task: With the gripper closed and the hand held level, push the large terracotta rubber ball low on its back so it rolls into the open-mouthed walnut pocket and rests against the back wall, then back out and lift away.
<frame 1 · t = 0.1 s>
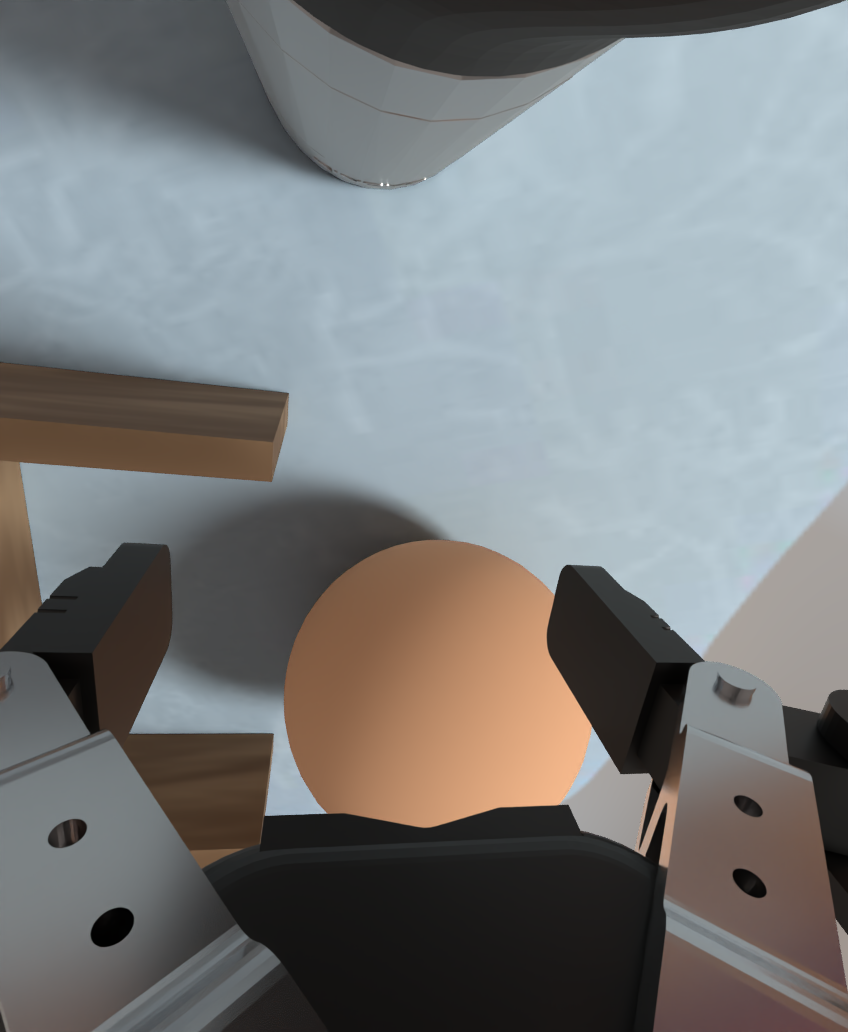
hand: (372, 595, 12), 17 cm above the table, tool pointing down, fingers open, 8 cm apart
pocket: (164, 594, 30), on the table
ball: (437, 689, 26), point 7 cm above the table
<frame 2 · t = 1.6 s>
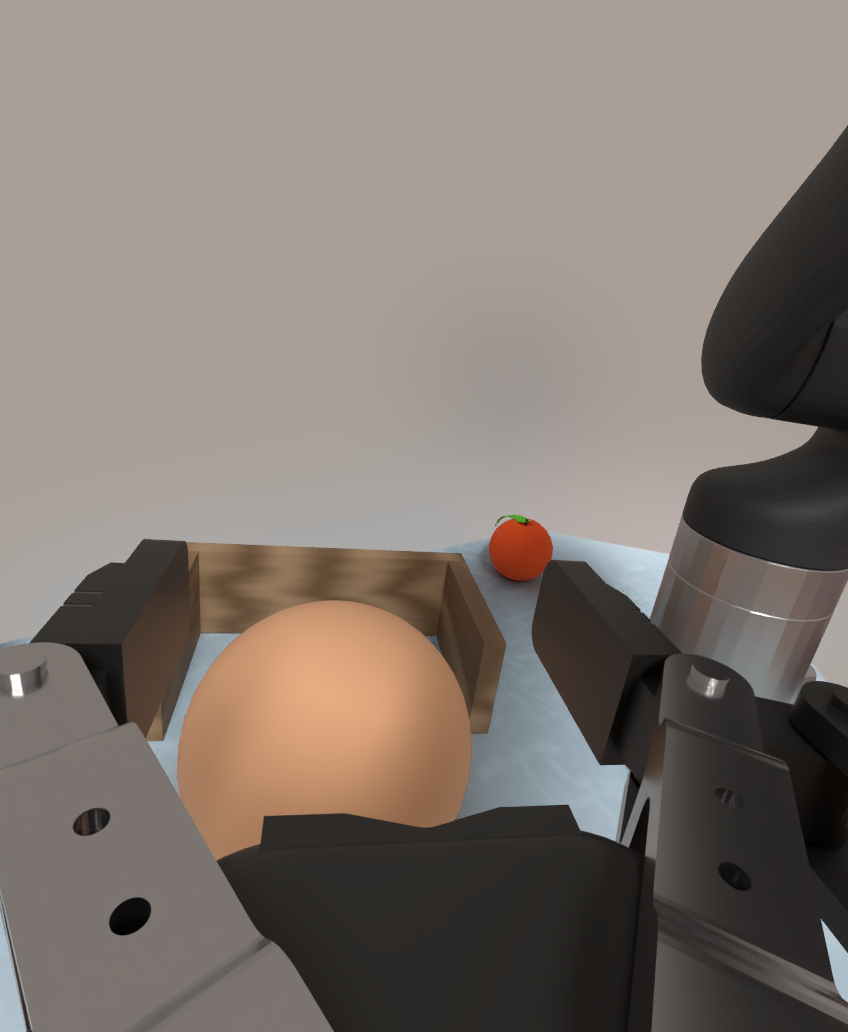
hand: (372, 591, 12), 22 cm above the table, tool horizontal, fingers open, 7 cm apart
pocket: (323, 678, 43), on the table
ball: (330, 742, 28), point 7 cm above the table
clementine: (511, 576, 64), on the table
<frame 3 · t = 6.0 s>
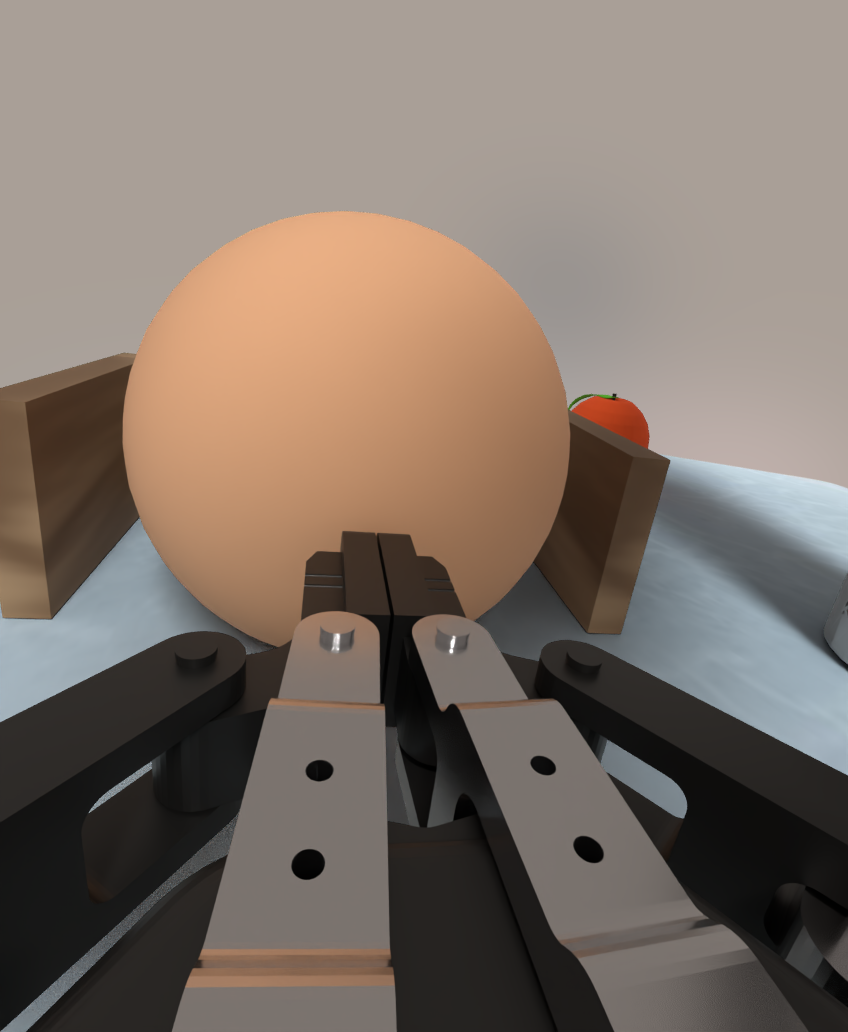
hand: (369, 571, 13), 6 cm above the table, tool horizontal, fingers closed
pocket: (340, 558, 27), on the table
ball: (356, 445, 19), point 7 cm above the table, tilted 65°
clementine: (588, 479, 48), on the table
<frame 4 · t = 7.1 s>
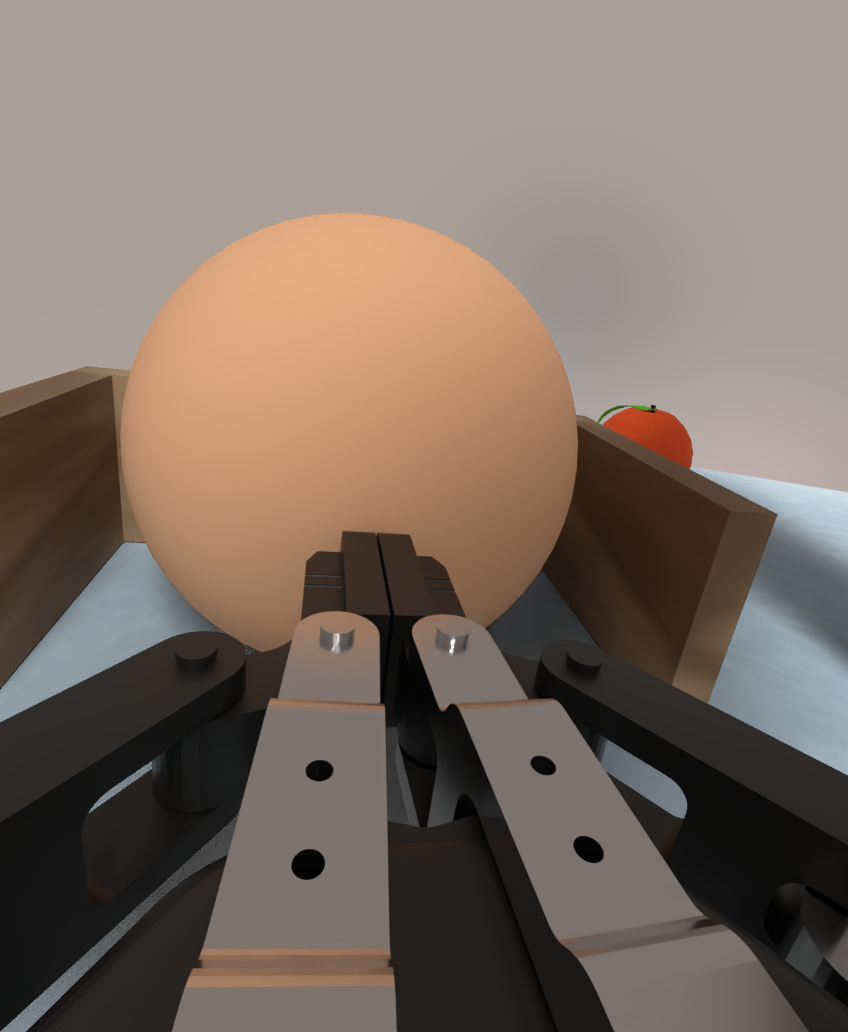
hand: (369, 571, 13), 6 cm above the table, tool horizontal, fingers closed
pocket: (345, 617, 22), on the table
ball: (359, 452, 19), point 7 cm above the table, tilted 105°, touching gripper, pocket
clementine: (621, 500, 43), on the table
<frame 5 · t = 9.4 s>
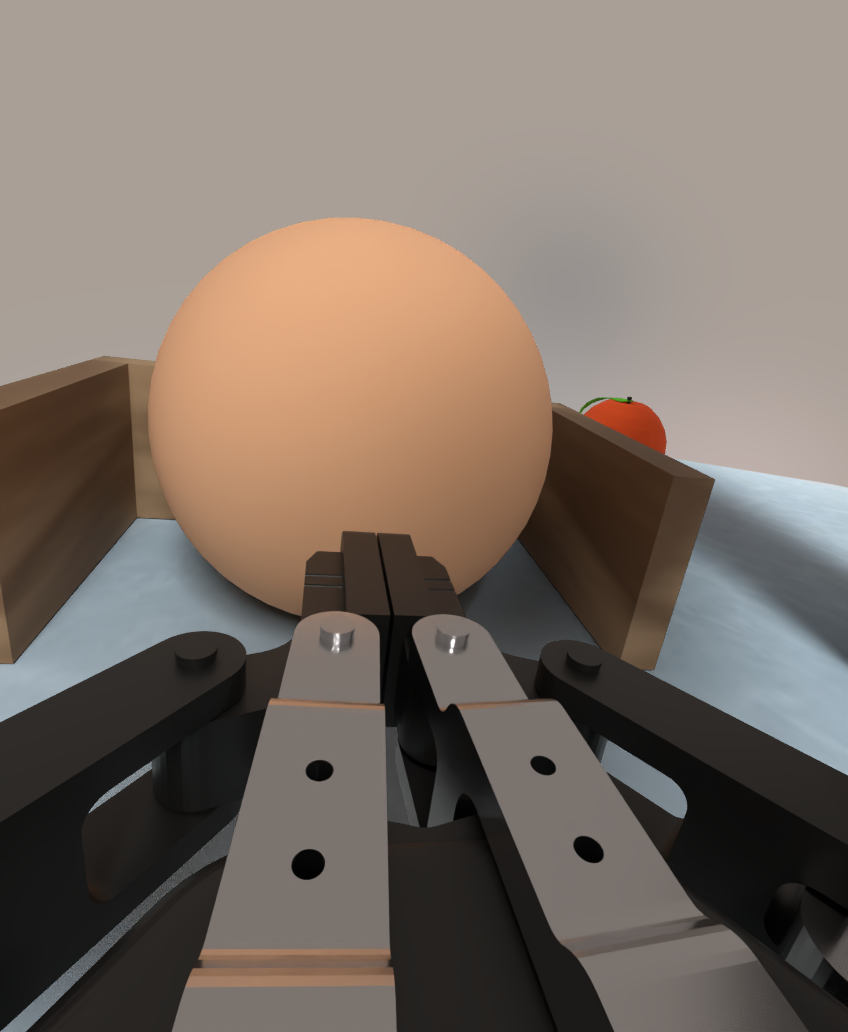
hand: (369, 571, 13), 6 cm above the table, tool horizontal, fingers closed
pocket: (341, 582, 24), on the table
ball: (358, 431, 21), point 7 cm above the table, tilted 102°
clementine: (600, 487, 45), on the table
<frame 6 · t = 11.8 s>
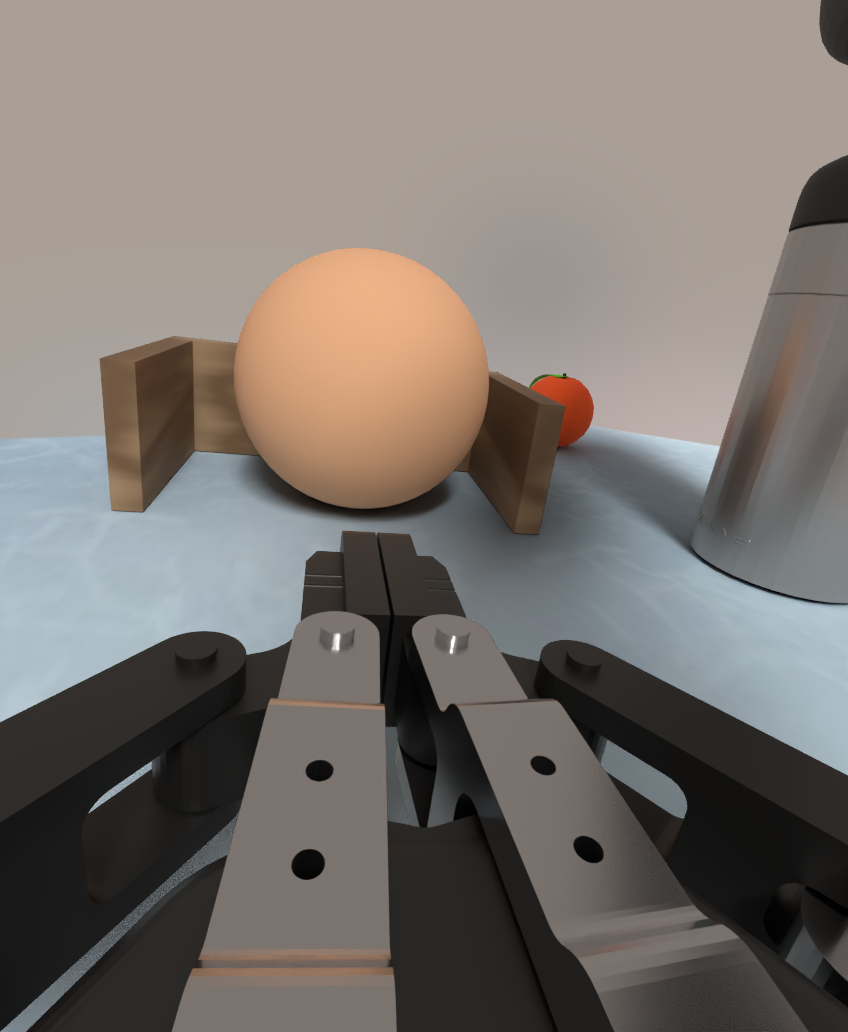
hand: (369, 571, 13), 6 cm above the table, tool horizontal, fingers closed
pocket: (338, 487, 36), on the table
ball: (364, 384, 32), point 7 cm above the table, tilted 94°
clementine: (545, 446, 57), on the table
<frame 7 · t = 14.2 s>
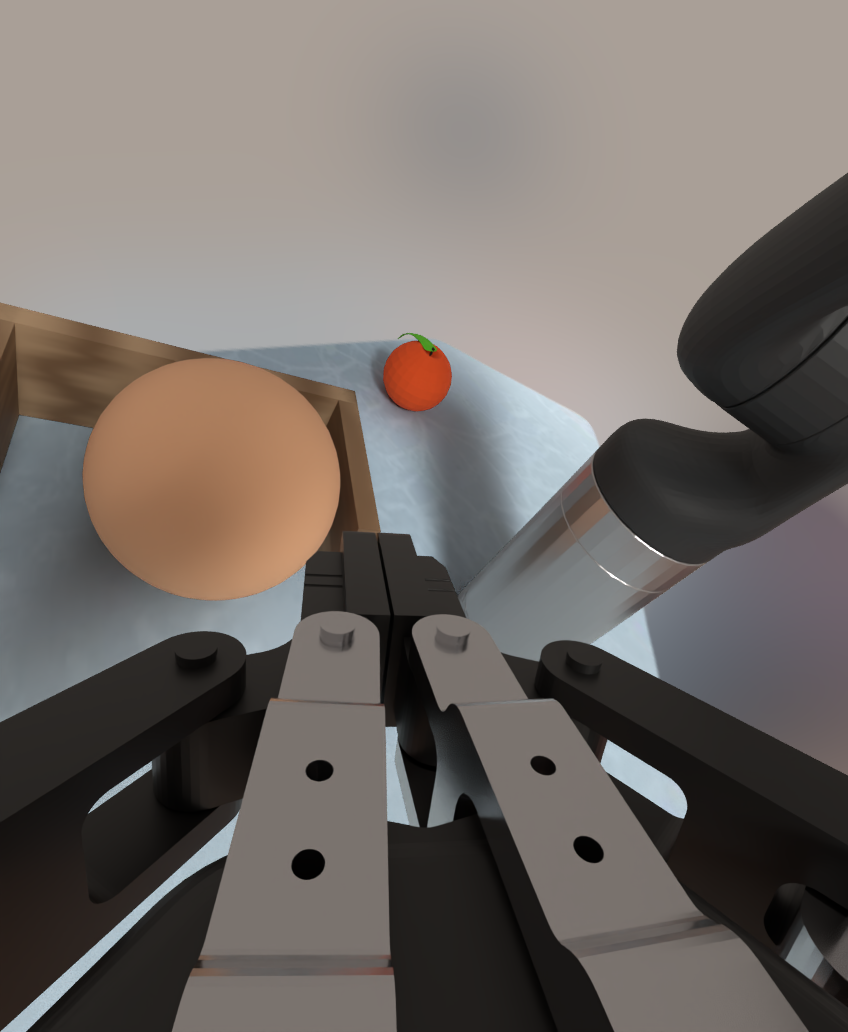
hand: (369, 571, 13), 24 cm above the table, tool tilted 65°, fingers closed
pocket: (174, 504, 39), on the table
ball: (220, 480, 33), point 7 cm above the table, tilted 85°
clementine: (399, 399, 60), on the table
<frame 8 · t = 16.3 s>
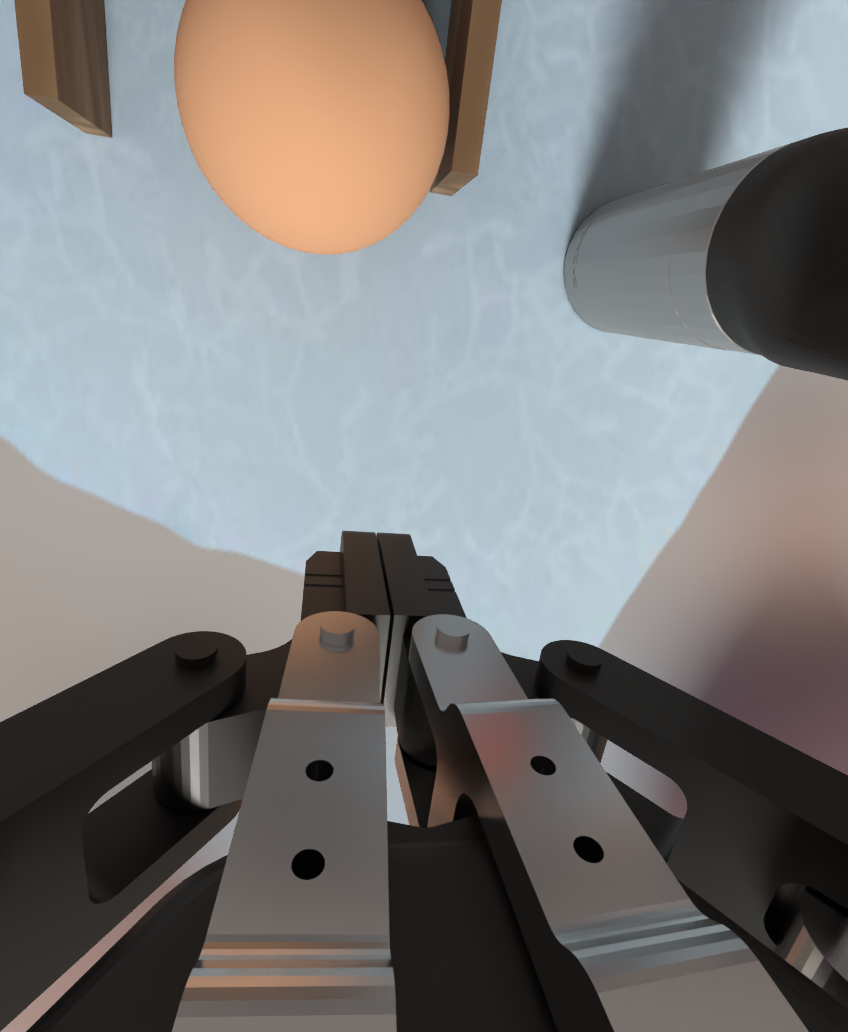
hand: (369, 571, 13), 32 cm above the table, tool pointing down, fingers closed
pocket: (282, 53, 34), on the table
ball: (317, 109, 30), point 7 cm above the table, tilted 78°
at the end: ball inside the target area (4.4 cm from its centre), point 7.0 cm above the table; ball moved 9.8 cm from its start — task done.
